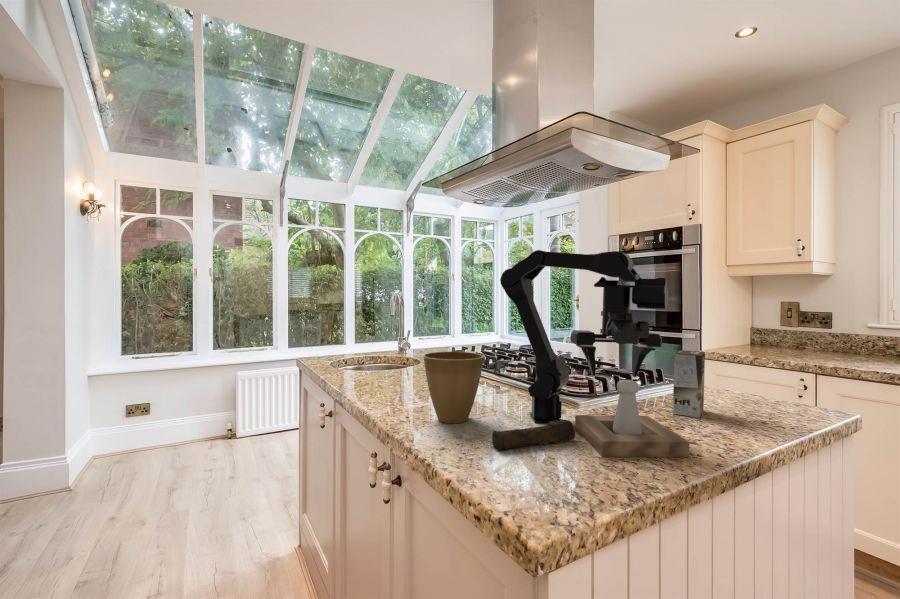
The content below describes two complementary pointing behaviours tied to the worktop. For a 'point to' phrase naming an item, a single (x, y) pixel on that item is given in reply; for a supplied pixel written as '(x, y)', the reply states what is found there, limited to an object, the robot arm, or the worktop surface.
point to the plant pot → (453, 383)
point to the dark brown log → (534, 435)
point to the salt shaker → (627, 409)
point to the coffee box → (688, 383)
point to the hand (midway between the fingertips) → (613, 376)
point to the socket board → (631, 438)
